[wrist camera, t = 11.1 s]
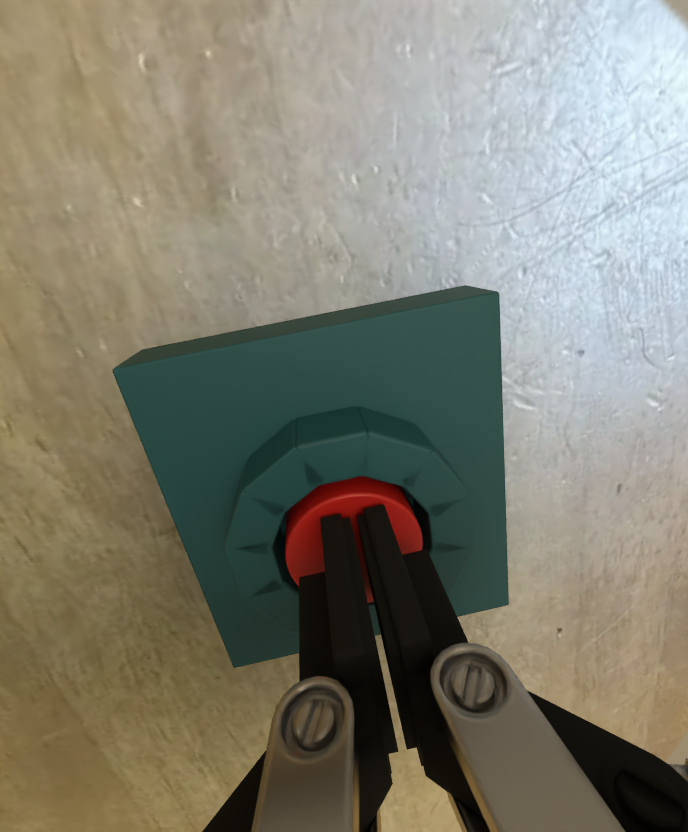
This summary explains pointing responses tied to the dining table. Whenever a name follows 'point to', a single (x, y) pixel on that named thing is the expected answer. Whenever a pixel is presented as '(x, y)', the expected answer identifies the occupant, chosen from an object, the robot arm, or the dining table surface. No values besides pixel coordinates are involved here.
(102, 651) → the dining table surface
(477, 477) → the button block
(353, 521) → the button
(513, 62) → the dining table surface
